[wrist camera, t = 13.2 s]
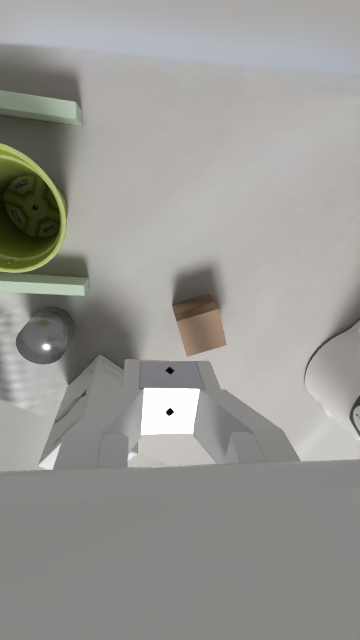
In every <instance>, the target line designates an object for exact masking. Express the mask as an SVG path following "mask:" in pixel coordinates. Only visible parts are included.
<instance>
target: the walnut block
mask: <svg viewBox="0 0 360 640" xmlns="http://www.w3.org/2000/svg"><path fill="white" fill-rule="evenodd" d="M172 306H173V310H174V314H175V317H176V321H177V324H178V328H179V331H180V334H181V338H182V341H183V345H184V348H185V351H186V355H187V356H191V355H194V354H198V353H201V352H204V351H208V350H211V349H215V348H218V347H221V346H225V345H226V340H225V336H224V331H223V326H222V322H221V317H220V312H219V309H218V307H217V305H216V304H215V302H214V301H213V299H212V298H211V296H210V295H209V294H208V295H205V296H201V297H198V298H194V299H191V300H187V301H184V302H181V303H177V304H174V305H172Z"/></svg>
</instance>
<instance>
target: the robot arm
mask: <svg viewBox="0 0 360 640" xmlns="http://www.w3.org/2000/svg"><path fill="white" fill-rule="evenodd" d="M305 385H306V389H307V391H308V393H309V394H310V395H311V396H312V397H313V398H314V399H315V400H317V401H318V402H319V403H320V404H321V407H322V410H323V411H324V412H325V413H326V414H327V415H328V416H330V417H334V418H335V419H336V420H337V421H338V422H340V423H341V424H342V425H343V426H344V427H345V428H346V429H347V430H348V431H349V432H350V433H351V434H352V435H353V436H354V437H355V438H356V439H357V440H358V441H360V320H359V321H358V322H357V323H356V324H355V325H354V326H353V327H352V328H350V329H349V330H347V331H346V332H344V333H342V334H340V335H338V336H336V337H334V338H333V339H331V340H330V341H328V342H327V343H326V344H324V345H323V346H322V347H321V348H320V349H319V350H318V351H317V353H316V354H315V355H314V357H313V358H312V360H311V361H310V363H309V365H308V368H307V371H306V375H305ZM160 433H190V434H192V435H193V436H194V437H195V438H196V440H197V441H198V442H199V443H200V444H201V446H202V447H203V448H204V449H205V450H206V452H207V453H208V454H209V455H210V456H211V458H212V459H213V460H214V461H215V462H216V464H207V465H178V466H151V467H150V466H149V467H127V464H128V455H129V453H130V452H131V450H132V449H133V447H134V446H135V445H136V443H137V442H138V440H139V439H140V437H141V435H142V434H160ZM0 640H360V459H358V460H332V461H300V459H299V457H298V456H297V454H296V452H295V450H294V449H293V447H292V445H291V444H290V442H289V440H288V438H287V437H286V435H285V433H284V431H283V430H281V429H280V428H279V427H277V426H276V425H274V424H273V423H272V422H270V421H269V420H267V419H266V418H264V417H263V416H262V415H260V414H259V413H257V412H256V411H255V410H253V409H252V408H250V407H249V406H248V405H246V404H245V403H243V402H242V401H240V400H239V399H238V398H236V397H235V396H233V395H232V394H231V393H229V392H228V391H226V390H221V388H220V386H219V383H218V381H217V378H216V375H215V373H214V370H213V368H212V365H211V363H210V362H209V361H160V360H139V359H125V362H124V371H123V380H122V389H116V390H115V391H114V392H113V393H111V394H110V395H109V396H108V397H107V398H105V399H104V400H103V401H102V402H101V403H100V404H98V405H97V406H96V407H95V408H94V409H93V410H91V411H90V412H89V413H88V414H87V415H85V416H84V417H83V418H82V419H81V420H80V421H78V422H77V423H76V424H75V425H74V426H73V427H71V428H70V429H69V430H68V431H67V432H65V434H64V437H63V439H62V442H61V445H60V448H59V451H58V454H57V457H56V460H55V463H54V466H53V469H52V470H31V471H3V472H2V471H1V472H0Z"/></svg>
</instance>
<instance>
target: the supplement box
mask: <svg viewBox="0 0 360 640" xmlns="http://www.w3.org/2000/svg"><path fill="white" fill-rule="evenodd" d="M123 371H124V370H123V369H122V368H120V367H119V366H117V365H116V364H114V363H113V362H111V361H110V360H108V359H107V358H105V357H104V356H102V355H100V354H99V355H98V356H97V357H96V358H95V359H94V360H93V361H92V363H91V364H90V365H89V366H88V367H87V368H86V369H85V370H84V371H83V372H82V373H81V374H80V375H79V376H78V377H77V378H76V379H75V380H74V381H73V382H72V383H71V384H70V385H69V386H68V387H67V389H66V392H65V395H64V397H63V400H62V402H61V405H60V408H59V410H58V413H57V416H56V418H55V421H54V424H53V426H52V429H51V432H50V434H49V437H48V440H47V443H46V445H45V448H44V450H43V453H42V456H41V459H40V461H39V464H38V466H40V467H42V468H44V469H46V470H52V469H53V466H54V463H55V460H56V457H57V454H58V451H59V448H60V445H61V442H62V439H63V437H64V434H65V432H67V431H68V430H69V429H70V428H71V427H73V426H74V425H75V424H76V423H77V422H78V421H80V420H81V419H82V418H83V417H84V416H85V415H87V414H88V413H89V412H90V411H91V410H93V409H94V408H95V407H96V406H97V405H98V404H100V403H101V402H102V401H103V400H104V399H105V398H107V397H108V396H109V395H110V394H111V393H113V392H114V391H115V390H116V389H122V380H123ZM137 454H138V442H137V443H136V445H135V446H134V447H133V449H132V450H131V452H130V453H129V455H128V461H130V460H131V459H132V458H133V457H134V456H136V455H137Z"/></svg>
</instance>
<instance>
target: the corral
mask: <svg viewBox="0 0 360 640" xmlns="http://www.w3.org/2000/svg"><path fill="white" fill-rule="evenodd" d="M0 114H1V115H8V116H15V117H22V118H29V119H36V120H43V121H50V122H57V123H63V124H70V125H77V126H83V116H82V110H81V109H80V107H79V106H78V104H77V103H76V102H73V101H67V100H61V99H54V98H48V97H42V96H35V95H29V94H23V93H16V92H10V91H4V90H0ZM88 288H89V278H87V277H70V276H53V275H36V274H20V273H3V272H0V292H16V293H36V294H57V295H77V296H85V294H86V292H87V290H88Z"/></svg>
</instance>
